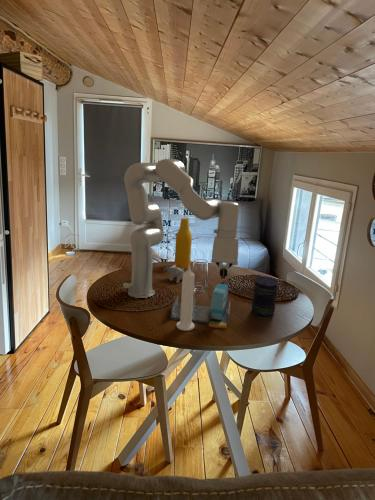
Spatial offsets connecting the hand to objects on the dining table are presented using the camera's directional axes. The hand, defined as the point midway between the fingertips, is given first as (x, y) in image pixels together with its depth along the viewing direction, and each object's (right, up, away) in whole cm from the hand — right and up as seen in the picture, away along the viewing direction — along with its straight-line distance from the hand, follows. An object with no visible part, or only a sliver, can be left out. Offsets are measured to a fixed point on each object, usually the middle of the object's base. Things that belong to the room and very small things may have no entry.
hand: (223, 277), depth 146 cm
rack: (-9, -17, +5) cm, 19 cm away
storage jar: (+18, -17, +11) cm, 27 cm away
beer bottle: (-18, +1, +66) cm, 69 cm away
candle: (-15, -19, -5) cm, 25 cm away
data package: (-2, -16, +5) cm, 17 cm away
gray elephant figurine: (-22, -5, +45) cm, 50 cm away
